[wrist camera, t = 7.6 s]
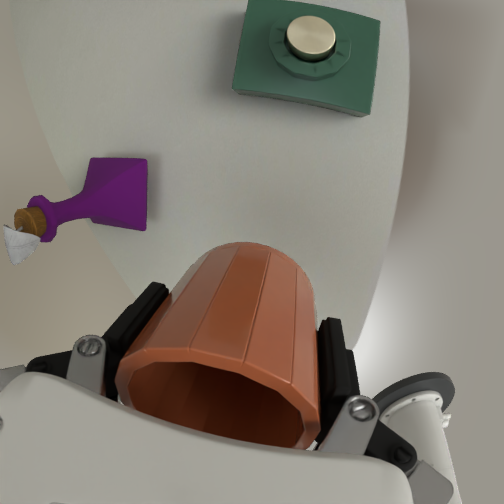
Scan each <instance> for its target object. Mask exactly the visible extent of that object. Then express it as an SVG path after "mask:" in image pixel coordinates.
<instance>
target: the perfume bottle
mask: <svg viewBox="0 0 504 504" xmlns="http://www.w3.org/2000/svg"><path fill="white" fill-rule="evenodd" d="M147 177H148V168H147V160H146V159H140V158H91V159H90V162H89V167H88V171H87V176H86V180H85V184H84V187H83V190H82V191H81V192H80V193H79V194H77V195H76V196H74V197H72V198H69V199H67V200H64V201H60V202H56V203H53V202H49V200H48V199H46V198H45V197H44V196H42V195H39V196H33V197H32V198H31V199H30V201H29V203H28V205H27V208H23V209H18V210H17V211H16V213H15V215H14V217H15V219H14V220H15V221H14V224H15V228H16V230H13V229H11V228H10V227H9V226H7V225H4V237H5V244H6V248H7V251H8V254H9V257H10V261H11V263H12V264H13V265H16V264H19V263H20V262H22V261H23V260H24V259H26V258H27V257H28V256H29V255H30V254H31V253H33V252H34V251H35V250H36V248H37V246H38V244H39V242H51V241H52V240H53V238H54V237H55V235H56V231H57V227H58V226H59V225H60V224H62V223H64V222H68V221H71V220H75V219H82V218H90V219H91V220H92V222H93V223H97V224H103V225H109V226H115V227H121V228H127V229H133V230H139V231H145V230H146V221H147Z"/></svg>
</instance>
